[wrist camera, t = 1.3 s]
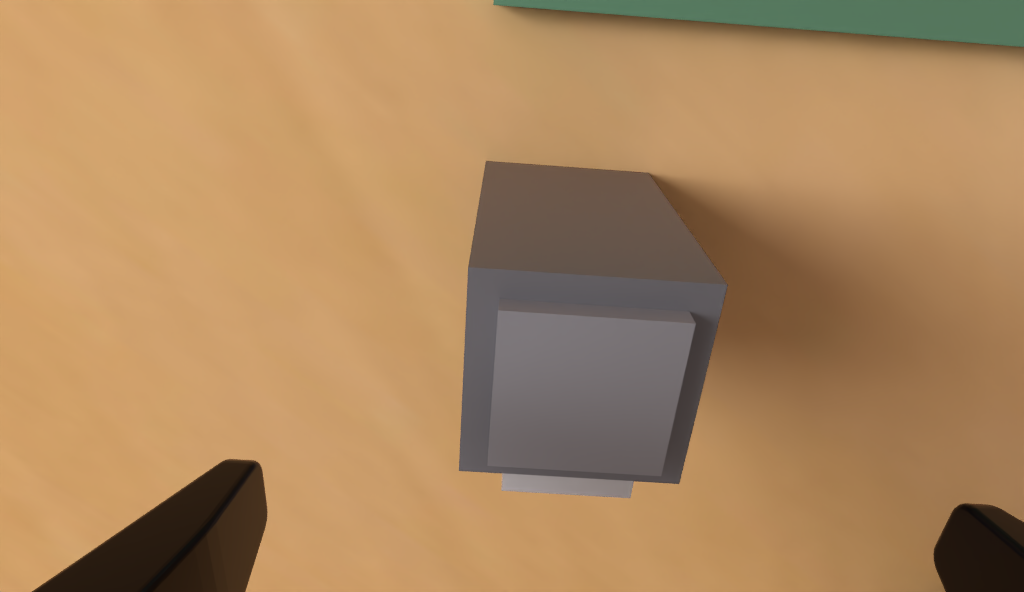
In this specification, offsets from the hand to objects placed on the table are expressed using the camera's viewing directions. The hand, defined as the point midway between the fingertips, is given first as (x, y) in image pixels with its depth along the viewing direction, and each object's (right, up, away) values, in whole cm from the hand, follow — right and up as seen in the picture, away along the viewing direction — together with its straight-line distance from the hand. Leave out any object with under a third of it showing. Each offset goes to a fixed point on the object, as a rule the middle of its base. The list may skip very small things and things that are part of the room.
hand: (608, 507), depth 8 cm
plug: (0, +4, +8) cm, 9 cm away
